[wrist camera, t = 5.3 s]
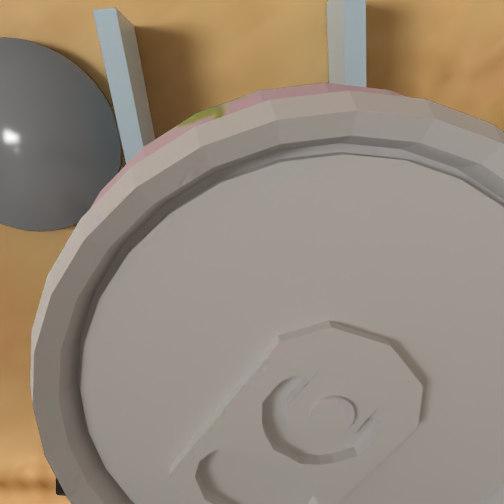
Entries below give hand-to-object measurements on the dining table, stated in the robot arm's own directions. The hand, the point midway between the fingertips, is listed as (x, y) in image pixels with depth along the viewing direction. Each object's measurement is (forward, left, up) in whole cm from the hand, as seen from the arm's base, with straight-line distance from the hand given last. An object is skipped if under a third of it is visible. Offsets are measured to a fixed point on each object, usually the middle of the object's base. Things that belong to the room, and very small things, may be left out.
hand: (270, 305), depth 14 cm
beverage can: (0, +4, -5) cm, 6 cm away
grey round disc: (-10, +7, -5) cm, 13 cm away
